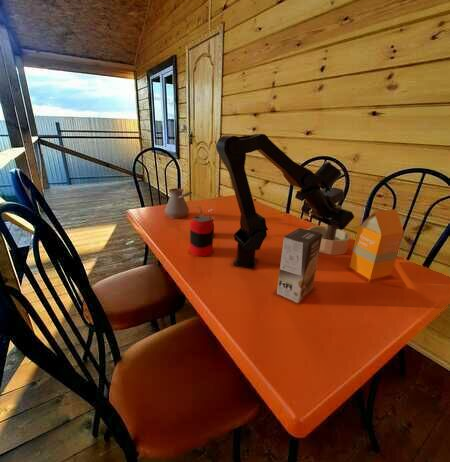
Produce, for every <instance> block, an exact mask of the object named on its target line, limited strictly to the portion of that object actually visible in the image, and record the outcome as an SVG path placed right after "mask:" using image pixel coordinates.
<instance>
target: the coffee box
mask: <svg viewBox="0 0 450 462" xmlns="http://www.w3.org/2000/svg"><path fill="white" fill-rule="evenodd" d="M321 239H322V234H321V233H318V232H314V231H311V230H308V229H305V228H301V227H299V228H297V229H295V230H293V231H292V232H290V233H288V234H286V235H284V236H283V242H282V250H281V257H280V265H279V272H278V273H279V274H278V280H277V290H276V294H277V295H278V296H281V297H284V298H286V299H288V300H290V301H292V302H294V303H296V304H300V303H301V302H302V301H303V299H304V298H305V297H306V296H307V295H308V294H309V293H310V292H311V291H312V290H313V288H314V283H315V278H316V274H317V273H316V272H317V267H318V261H319V256H320V252H319V250H320V244H321Z"/></svg>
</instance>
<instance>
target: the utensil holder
mask: <svg viewBox="0 0 450 462" xmlns="http://www.w3.org/2000/svg"><path fill="white" fill-rule="evenodd" d="M197 206H198V212H199V214H200V216H203V214H202V213H203V211H202V207H201V204H199V205H197ZM207 213H208V217H209V218H210V219H211V220H212V222H213V236H214V235H215V223H214V217H212V216H210V214H211V212H210V210H208V212H207ZM212 213H215V210H212Z"/></svg>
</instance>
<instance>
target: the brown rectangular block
mask: <svg viewBox="0 0 450 462" xmlns="http://www.w3.org/2000/svg"><path fill="white" fill-rule="evenodd" d="M336 205H337V206H336V207H335V208H333V210H334V209H338V210H340V209H343V206H342V205H340V204H336ZM327 227H328V229H327V233H326V238H325V239H328V240H334V239H335V235H336V231H337V229H336V228H334V227H332V226H330V225H327Z"/></svg>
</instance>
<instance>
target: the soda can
mask: <svg viewBox="0 0 450 462" xmlns="http://www.w3.org/2000/svg"><path fill="white" fill-rule="evenodd" d="M209 217H210V216H208V215H202V216H201V215H197V216H194V217H193V218H192V219H191V220H190V222H189V238H190V239H189V242H190V243H189V246H190V247H189V248H190V250H189V251H190V253H191V254H192V255H193V256H196V257H206V256H210V255H211V254H212V253H213V252H214V250H213V249H214V248H213V247H214V246H213V245H214V235H213V223H214V221H213V222H212V220H211V219H210V218H209Z"/></svg>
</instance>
